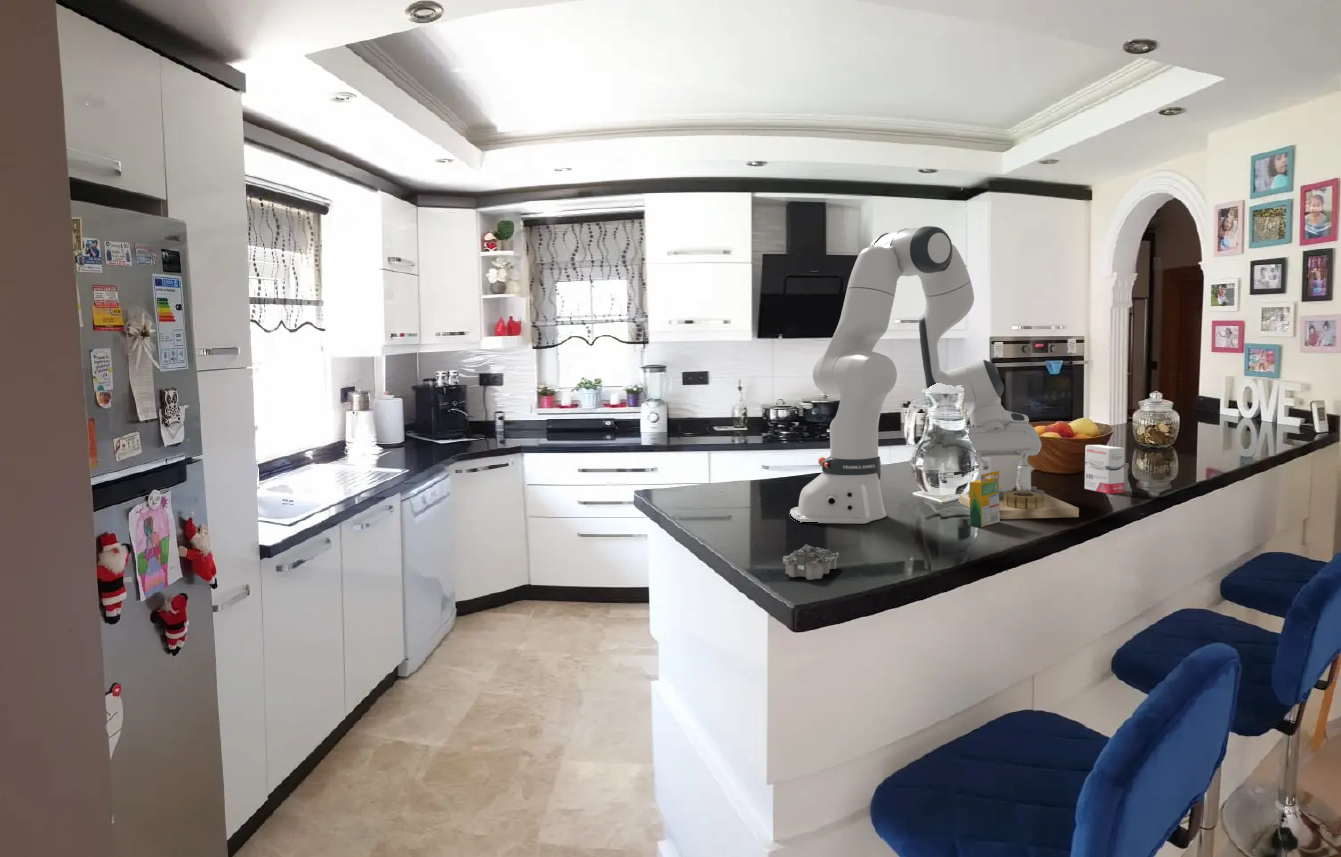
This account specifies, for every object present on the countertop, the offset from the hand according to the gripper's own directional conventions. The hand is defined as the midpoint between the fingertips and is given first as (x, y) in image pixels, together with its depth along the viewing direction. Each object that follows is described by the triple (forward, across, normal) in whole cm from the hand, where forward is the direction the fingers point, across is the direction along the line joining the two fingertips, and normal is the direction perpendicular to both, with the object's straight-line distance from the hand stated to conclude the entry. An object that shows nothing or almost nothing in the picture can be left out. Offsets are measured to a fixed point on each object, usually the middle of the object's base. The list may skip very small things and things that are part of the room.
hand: (1004, 468), depth 184 cm
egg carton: (+44, -54, -31) cm, 77 cm away
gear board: (+11, 0, +1) cm, 11 cm away
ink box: (-2, +30, +15) cm, 34 cm away
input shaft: (+13, 0, -4) cm, 14 cm away
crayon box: (+21, -12, -8) cm, 26 cm away
